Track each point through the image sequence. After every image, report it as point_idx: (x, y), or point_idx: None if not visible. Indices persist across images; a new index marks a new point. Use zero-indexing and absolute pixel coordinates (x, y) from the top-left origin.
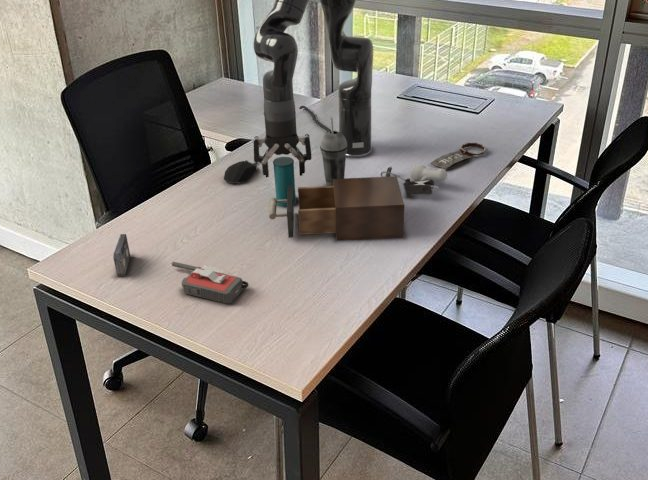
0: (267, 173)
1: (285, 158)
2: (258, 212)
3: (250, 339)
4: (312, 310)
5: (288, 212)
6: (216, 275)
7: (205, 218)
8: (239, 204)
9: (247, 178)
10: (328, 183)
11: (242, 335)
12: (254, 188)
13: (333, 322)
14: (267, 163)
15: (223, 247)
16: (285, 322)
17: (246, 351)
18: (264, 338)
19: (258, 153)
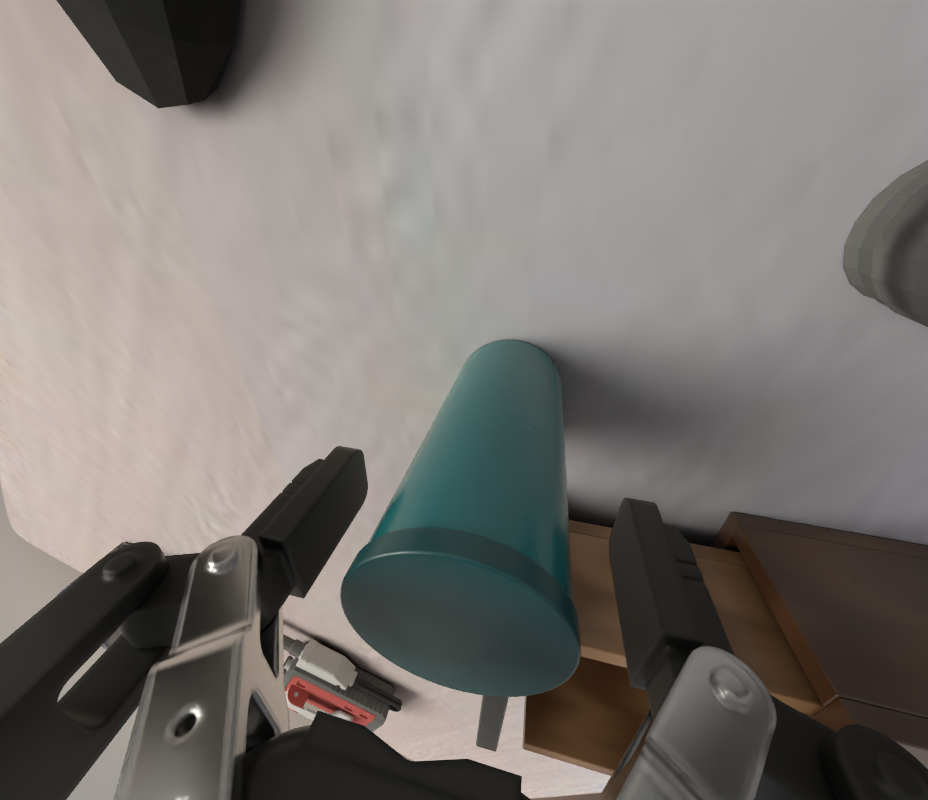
0: (346, 522)
1: (479, 603)
2: (386, 443)
3: (421, 747)
4: (519, 754)
5: (482, 745)
6: (333, 714)
7: (212, 435)
8: (295, 361)
9: (233, 2)
10: (881, 292)
11: (409, 740)
12: (324, 179)
13: (549, 777)
14: (298, 585)
15: (321, 578)
16: (471, 750)
17: (417, 755)
18: (440, 753)
19: (110, 739)
